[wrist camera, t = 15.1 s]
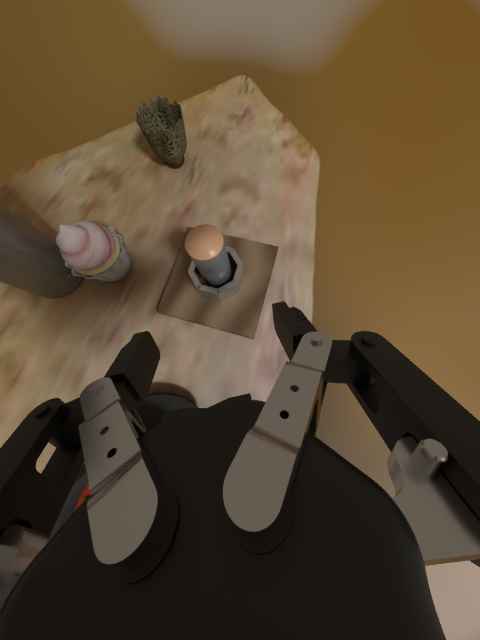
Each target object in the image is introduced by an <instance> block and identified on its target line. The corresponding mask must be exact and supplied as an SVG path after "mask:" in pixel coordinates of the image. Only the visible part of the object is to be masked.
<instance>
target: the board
mask: <svg viewBox="0 0 480 640" xmlns="http://www.w3.org/2000/svg"><path fill="white" fill-rule="evenodd" d="M192 229H193V228H192V227H189V230H188V232H187V235H188V233H189V232H190V231H191V230H192ZM187 235H186V236H187ZM222 236H223V239H224V243H225V246H227V247H231V248H234V250H235V252H236V253H237V255H238V256H239V258H240V260H241V261H242V263H243V264H244V277H243V281H242V284H241V287H240V291H239V293H238V294H236V295H234V296H232V297H230V298H228V299H227V300H225V301H223V302H219V301H215V300H211V299H207V298H203V297H202V295H201V294H200V293H199V291H198V290H197V288H196V286H195V284H194V282H193V280H192V278H191V277H190V275H189V273H188V270H189V267H190V264H191V262H192V259H191V257H190V255H189V254H188V252H187V250H186V248H185V240H184V242H183V245H182V248H181V250H180V253H179V255H178V258H177V261H176V263H175V266H174V268H173V271H172V274H171V276H170V279H169V281H168V284H167V287H166V289H165V292H164V294H163V297H162V300H161V302H160V305H159V307H158V310H157V312H158V313H161V314H164V315H168V316H172V317H175V318H179V319H182V320H186V321H190V322H193V323H197V324H201V325H204V326H208V327H211V328H215V329H219V330H222V331H226V332H229V333H233V334H237V335H240V336H244V337H248V338H251V339H254V336H255V333H256V329H257V325H258V321H259V318H260V314H261V310H262V307H263V303H264V299H265V295H266V292H267V288H268V284H269V281H270V277H271V273H272V269H273V266H274V262H275V258H276V255H277V251H278V247H277V246H272V245H268V244H263V243H259V242H254V241H250V240H246V239H241V238H237V237H232V236H228V235H223V234H222ZM185 239H186V237H185ZM230 266H231V270H232V274H233V279H234V276H235V272H236V270H235V269H234V267H233V265H232V264H230ZM200 283H201V284H202V285H204V286H208V284H207V283H206V281H205V279H204V278H203V276H201V278H200ZM208 287H209V286H208Z"/></svg>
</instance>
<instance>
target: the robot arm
mask: <svg viewBox="0 0 480 640" xmlns="http://www.w3.org/2000/svg"><path fill="white" fill-rule="evenodd" d="M65 262H66V261H65V260H64V259H63V257H62V255H61V253H60V248H59V247H58V245H57V243H56V240H55V239H53V238H52V237H50V236H49V235H47V234H46V233H44V232H42V231H41V230H39V229H38V228H36V227H35V226H33V225H32V224H30V223H28V222H27V221H25V220H24V219H22V218H21V217H19V216H17V215H16V214H14V213H13V212H11V211H10V210H8V209H6V208H5V207H3V206H2V205H0V282H1V283H4V284H7V285H10V286H13V287H16V288H19V289H22V290H25V291H28V292H31V293H35V294H38V295H41V296H44V297H47V298H60V297H63V296H65V295H67V294H69V293H71V292H72V291H73V290H74V289H75V288H76V287H77V286H78V285H79V284H80V282H81V280H82V278H83V276H74V275H73V274H72V268H69V267H67V266H66V265H65ZM272 309H273V318H274V326H275V330H276V333H277V335H278V337H279V340H280V342H281V344H282V346H283V348H284V350H285V352H286V354H287V356H288V358H289V360H290V362H288V361H287V362H286V363H285V364H284V366H283V368H282V370H281V372H280V374H279V377H278V379H277V381H276V383H275V385H274V387H273V389H272V391H271V393H270V395H269V397H268V399H267V401H266V402H263V401H258V400H252V399H251V395H250V393H249V394H245V395H240V396H236V397H231V398H228V399H226V400H224V401H221V402H219V403H217V404H215V405H213V406H211V407H208V408H182V409H177V410H173V411H168V412H164V413H163V417H162V421H160V422H158V423H156V424H155V425H153V426H152V427H150V428H149V429H148V430H147V429H146V428H145V426H144V424H143V422H142V420H141V418H140V416H139V415H138V413H137V411H136V410H135V409H134V407H135V405H136V404H139V403H144V402H145V401H146V398H147V395H148V392H149V389H150V386H151V383H152V380H153V377H154V375H155V372H156V369H157V366H158V363H159V360H160V351H159V349H158V347H157V345H156V343H155V341H154V339H153V338H152V336H151V334H150V332H148V331H145V332H140V333H136V334H134V335H133V337H132V339H131V340H130V342H129V343H128V344H127V345H125V346H124V347H123V348H122V349H121V351H120V352H119V354H118V356H117V357H116V359H115V360H114V361H115V362H113V363H112V365H111V367H110V368H109V370H108V371H107V373H106V375H105V376H104V378H101V379H98V380H96V381H94V382H92V383H91V384H89V385H88V386H87V387H86V388H85V389H84V390H83V391H82V393H81V395H80V397H79V398H77V399H75V400H73V401H70V402H68V403H66V404H65V403H64V402H63V401H62V400H61V399H59V398H54V399H50V400H48V401H46V402H44V403H42V404H40V405H39V406H37V407H36V408H35V409H34V410H32V411H31V412H30V413H29V414H28V415H27V417H26V418H25V419H24V420H23V421H22V423H21V424H20V425H19V426H18V428H17V429H16V430H15V431H14V432H13V434H12V435H11V436H10V437H9V439H8V440H7V441H6V442H5V443H4V445H3V446H2V447H1V448H0V640H446V638H445V635H444V633H443V630H442V628H441V624H440V622H439V619H438V616H437V613H436V610H435V607H434V604H433V600H432V596H431V593H430V589H429V584H428V580H427V576H426V571H425V566H428V565H436V564H443V563H452V562H461V561H471V562H472V563H474V564H476V565H477V566H479V567H480V421H478V420H477V419H476V418H475V417H474V416H473V415H472V414H471V413H469V412H468V411H467V410H466V409H464V407H463V406H461V405H460V404H459V403H458V402H457V401H456V400H455V399H453V398H452V397H451V396H450V395H449V394H448V393H447V392H445V391H444V390H443V389H442V388H441V387H440V386H439V385H437V384H436V383H435V382H434V381H433V380H432V379H431V378H430V377H428V376H427V375H426V374H425V373H424V372H423V371H422V370H420V369H419V368H418V367H417V366H416V365H414V364H413V363H412V362H411V361H410V360H409V359H408V358H407V357H406V356H404V355H403V354H402V353H401V352H400V351H399V350H398V349H396V348H395V347H394V346H393V345H392V344H391V343H389V342H388V341H387V340H386V339H385V338H384V337H382V336H380V335H379V334H377V333H374V332H368V331H361V332H356V333H354V334H353V335H352V337H351V340H350V341H349V340H332V339H331V337H330V336H329V335H327V334H325V333H322V332H318V331H317V330H316V329H315V327H314V326H313V325H312V324H311V323H310V321H309V320H308V319H307V318H306V316H304V314H303V313H302V311H301V310H299V309H297V308H295V307H292V308H289V307H288V306H287V304H286V303H285V302H284V301H283V302H279V303H274V304H272ZM328 382H331V383H346V384H347V385H348V387H349V388H350V390H351V391H352V393H353V394H354V396H355V397H356V399H357V400H358V402H359V403H360V405H361V406H362V408H363V410H364V411H365V413H366V414H367V416H368V417H369V419H370V420H371V422H372V423H373V425H374V426H375V428H376V429H377V431H378V433H379V434H380V436H381V437H382V439H383V440H384V442H385V443H386V445H387V446H388V448H389V449H390V451H391V454H390V456H389V458H388V460H387V470H388V473H389V475H390V478H391V480H392V482H393V485H394V489H395V497H393V498H391V497H390V496H389V494H388V493H387V492H386V491H385V490H384V489H383V488H382V487H381V486H379V485H378V484H377V483H376V482H375V481H374V480H372V479H371V478H370V477H368V476H367V475H366V474H364V473H363V472H362V471H360V470H359V469H358V468H356V467H355V466H354V465H352V464H351V463H350V462H348V461H347V460H346V459H345V458H343V457H342V456H341V455H339V454H338V453H337V452H335V451H334V450H333V449H331V448H330V447H329V446H327V445H326V444H325V443H323V442H322V441H321V440H319V439H318V438H317V437H316V435H317V431H318V427H319V421H320V414H321V410H322V406H323V402H324V398H325V394H326V390H327V385H328ZM48 442H49V443H50V444H52V445H53V446H55V447H56V450H55V452H54V453H53V455H52V457H51V458H50V460H49V462H48V463H47V465H46V467H45V468H44V470H43V472H42V474H40V473H39V472H37V470H36V461H37V459H38V457H39V456H40V454H41V453H42V451H43V449H44V448H45V446H46V445H47V443H48ZM84 460H85V465H86V471H87V476H88V482H89V487H90V494H89V496H88V497H87V498H86V499H85V500H84V501H83V503H82V504H81V505H80V506H79V507H78V508H77V509H76V511H75V512H74V513H73V514H72V515H71V516H70V517H69V519H68V520H67V521H66V522H65V523H64V524H63V526H62V527H61V528H60V529H59V530H58V531H57V532H56V534H55V535H54V536H53V537H52V538H51V539H50V540H49V542H48V539H49V537H50V535H51V532H52V530H53V528H54V526H55V524H56V521H57V519H58V517H59V515H60V513H61V510H62V508H63V506H64V504H65V502H66V499H67V497H68V495H69V493H70V490H71V488H72V486H73V484H74V482H75V479H76V477H77V475H78V473H79V471H80V468H81V466H82V464H83V462H84Z"/></svg>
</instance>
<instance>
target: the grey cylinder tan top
mask: <svg viewBox="0 0 480 640" xmlns="http://www.w3.org/2000/svg"><path fill="white" fill-rule="evenodd" d="M185 248H186V250H187V252H188V254H189V255H190V257H191V259H192V260H193V262H194V263H195V265H196V267H197V268H198V270H199V271H200V273H201V275H202V276H203V278H204V279H205V281H206V283H207V284H208V286H209V287H212V288H216V289H218V288H220V287H222V286H224V285H226V284H228V283H229V282H231V281H233V274H232V270H231V266H230V262H229V258H228V255H227V251H226V247H225V243H224V239H223V236H222V233H221V232H220V230H219V229H218V228H216V227H214V226H212V225H207V224H206V225H199V226H197V227H195V228H193V229H192V230H191V231H190V232H189V233H188V235H187V236H186V239H185Z"/></svg>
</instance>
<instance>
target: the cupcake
mask: <svg viewBox="0 0 480 640" xmlns="http://www.w3.org/2000/svg"><path fill="white" fill-rule="evenodd" d="M56 243H57V245H58V247H59V248H60V253H61V255H62V257H63V259H64V260H65V261H66V262H65V265H66V266H67V267H69V268H72V274H73V275H74V276H84V277H85V278H87V279H98V280H102V281H105V282H115V281H119V280H121V279H123V278H124V277H125V276H126V275H127V274H128V273H129V271H130V269H131V258H130V255H129V254H128V252H127V250H126V248H125V247H124V244H123V239H122V237H121V236H120V235H118V234H116V232H115V229H114V227H107V228H106V227H104V226H103V225H101V224H99V223H97V222H92V221H76V222H73V223H70V224H68V225H60V231H59V233H58V234H57V236H56Z"/></svg>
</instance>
